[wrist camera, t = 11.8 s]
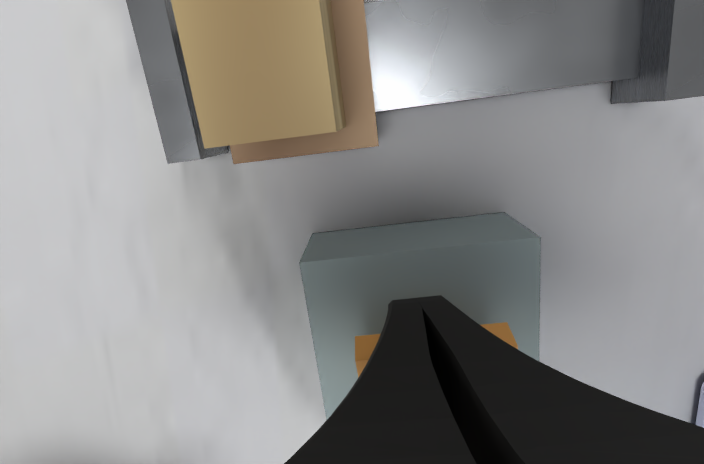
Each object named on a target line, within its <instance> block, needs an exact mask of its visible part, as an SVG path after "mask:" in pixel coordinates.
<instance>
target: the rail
mask: <svg viewBox="0 0 704 464" xmlns="http://www.w3.org/2000/svg"><path fill="white" fill-rule="evenodd" d="M126 2H127V6H128V10H129V14H130V18H131V22H132V26H133V30H134V33H135V37H136V41H137V45H138V49H139V53H140V57H141V61H142V65H143V69H144V72H145V76H146V80H147V84H148V88H149V92H150V96H151V100H152V104H153V108H154V111H155V115H156V119H157V123H158V127H159V131H160V135H161V139H162V143H163V147H164V150H165V154H166V158H167V162H168V163H176V162H184V161H192V160H199V159H204V158H208V157H212V156H216V155H219V154H223V153H227V152H228V148H227V146H221V147H213V148H206V149H204V144H203V140H202V135H201V131H200V127H199V122H198V118H197V113H196V109H195V105H194V100H193V96H192V91H191V87H190V83H189V78H188V74H187V69H186V65H185V61H184V56H183V52H182V47H181V43H180V39H179V34H178V30H177V25H176V21H175V17H174V12H173V8H172V3H171V0H126ZM364 9H365V18H366V28H367V38H368V47H369V57H370V67H371V76H372V86H373V96H374V106H375V112H380V111H387V110H395V109H403V108H410V107H418V106H425V105H433V104H441V103H448V102H456V101H464V100H471V99H479V98H487V97H494V96H502V95H510V94H517V93H525V92H532V91H540V90H548V89H555V88H563V87H571V86H578V85H586V84H594V83H601V82H609V81H612V97H611V104H612V103H631V102H649V101H666V100H674V99H682V98H690V97H698V96H704V0H381V1H374V2H367V3H364Z"/></svg>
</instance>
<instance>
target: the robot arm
mask: <svg viewBox="0 0 704 464" xmlns="http://www.w3.org/2000/svg"><path fill="white" fill-rule="evenodd" d="M284 464H704V382H703V384H702V386H701V392H700V399H699V405H698V412H697V419H696V425H694V424H691V423H688V422H685V421H682V420H679V419H676V418H673V417H670V416H667V415H664V414H661V413H658V412H655V411H653V410H650V409H647V408H644V407H642V406H639V405H636V404H633V403H631V402H628V401H625V400H623V399H620V398H618V397H616V396H613V395H611V394H608V393H606V392H604V391H601V390H599V389H596V388H594V387H591V386H589V385H587V384H584V383H582V382H580V381H578V380H576V379H573V378H571V377H569V376H567V375H565V374H563V373H561V372H559V371H557V370H555V369H553V368H551V367H549V366H547V365H545V364H543V363H541V362H539V361H537V360H535V359H534V358H532V357H530V356H528V355H526V354H525V353H523V352H521V351H520V350H518V349H516V348H515V347H513V346H511V345H510V344H508V343H506V342H505V341H503V340H502V339H500V338H499V337H497V336H495V335H494V334H492V333H491V332H489V331H488V330H487V329H485V328H484V327H482V326H481V325H479V324H478V323H477V322H475V321H474V320H473V319H471V318H470V317H469V316H467V315H466V314H465V313H463V312H462V311H461V310H459V309H458V308H457V307H456V306H454V305H453V304H452V303H450V302H449V301H448V300H447V299H445V298H444V297H443V296H441V295H438V296H428V297H418V298H409V299H399V300H392V301H391V302H390V303H389V304H388V313H387V317H386V320H385V324H384V327H383V329H382V332H381V334H380V337H379V339H378V342H377V344H376V346H375V348H374V350H373V352H372V354H371V356H370V358H369V360H368V362H367V364H366V366H365V367H364V369H363V371H362V373H361V374H360V376H359V377H358V379H357V381H356V382H355V384H354V385H353V387H352V388H351V390H350V391H349V392H348V394H347V395H346V397H345V398H344V399H343V401H342V402H341V403H340V404H339V406H338V407H337V408H336V409H335V411H334V412H333V413H332V415H331V416H330V417H329V418H328V419H327V421H326V422H325V423H324V424H323V425H322V426H321V427H320V429H319V430H318V431H317V432H316V433H315V434H314V435H313V436H312V437H311V438H310V439H309V440H308V441H307V442H306V443H305V444H304V445H303V446H302V447H301V448H300V449H299V450H298V451H297V452H296V453H295V454H294V455H293V456H292V457H291V458H290V459H289V460H288V461H287V462H285V463H284Z"/></svg>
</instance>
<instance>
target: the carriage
mask: <svg viewBox="0 0 704 464" xmlns="http://www.w3.org/2000/svg"><path fill="white" fill-rule="evenodd" d="M171 3H172V8H173V12H174V17H175V21H176V25H177V30H178V34H179V39H180V43H181V47H182V52H183V56H184V61H185V65H186V69H187V74H188V78H189V83H190V87H191V91H192V96H193V100H194V105H195V109H196V113H197V118H198V122H199V127H200V131H201V135H202V140H203V144H204V149H206V148H213V147H221V146H229V145H230V149H231V154H232V158H233V163H234V164H238V163H246V162H254V161H262V160H270V159H278V158H286V157H294V156H302V155H310V154H318V153H326V152H334V151H342V150H350V149H358V148H366V147H374V146H379V144H378V135H377V125H376V115H375V106H374V96H373V86H372V76H371V67H370V57H369V47H368V38H367V28H366V18H365V9H364V0H171Z"/></svg>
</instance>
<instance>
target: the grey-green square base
mask: <svg viewBox="0 0 704 464" xmlns="http://www.w3.org/2000/svg"><path fill="white" fill-rule="evenodd" d="M540 241H541V237H540V236H538V235H537V234H535V233H534V232H532V231H531V230H529V229H528V228H526V227H525V226H524V225H522V224H521V223H519V222H518V221H516V220H515V219H513V218H512V217H510V216H509V215H508V214H506V213H505V212H503V213H494V214H485V215H476V216H467V217H458V218H449V219H440V220H431V221H421V222H412V223H403V224H394V225H385V226H376V227H367V228H358V229H349V230H340V231H331V232H322V233H313V234H312V236H311V238H310V240H309V243H308V245H307V247H306V249H305V251H304V254H303V256H302V258H301V260H300V262H299V263H300V269H301V275H302V281H303V286H304V292H305V298H306V304H307V309H308V315H309V321H310V327H311V332H312V338H313V344H314V349H315V355H316V361H317V367H318V372H319V378H320V384H321V390H322V395H323V401H324V407H325V413H326V418H327V419H328V418H329V417H330V416H331V415H332V413H333V412H334V411H335V409H336V408H337V407H338V406H339V404H340V403H341V402H342V401H343V399H344V398H345V397H346V395H347V394H348V392H349V391H350V390H351V388H352V387H353V385H354V384H355V382H356V381H357V379H358V373H357V368H356V363H355V336H362V335H373V334H381V332H382V329H383V327H384V324H385V320H386V317H387V313H388V304H389V303H390V302H391V301H392V300H399V299H409V298H418V297H428V296H438V295H441V296H443V297H444V298H445V299H447V300H448V301H449V302H450V303H452V304H453V305H454V306H456V307H457V308H458V309H459V310H461V311H462V312H463V313H465V314H466V315H467V316H469V317H470V318H471V319H473V320H474V321H475V322H477V323H478V324H479V325H482V324H493V323H504V322H507V323H508V325H509V327H510V330H511V332H512V334H513V336H514V338H515V341H516V343H517V345H518V350H520V351H521V352H523V353H525V354H526V355H528V356H530V357H532V358H534V359H535V360H537V361H539V321H540Z"/></svg>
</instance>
